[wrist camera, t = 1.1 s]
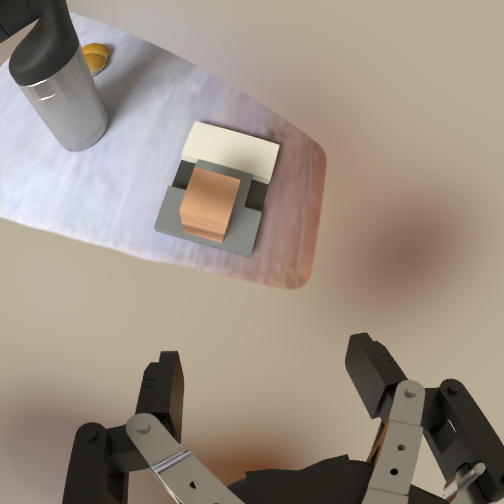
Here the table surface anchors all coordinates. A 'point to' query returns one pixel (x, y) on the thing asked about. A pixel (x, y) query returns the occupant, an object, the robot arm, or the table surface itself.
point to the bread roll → (95, 57)
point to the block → (208, 204)
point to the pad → (231, 150)
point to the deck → (241, 217)
